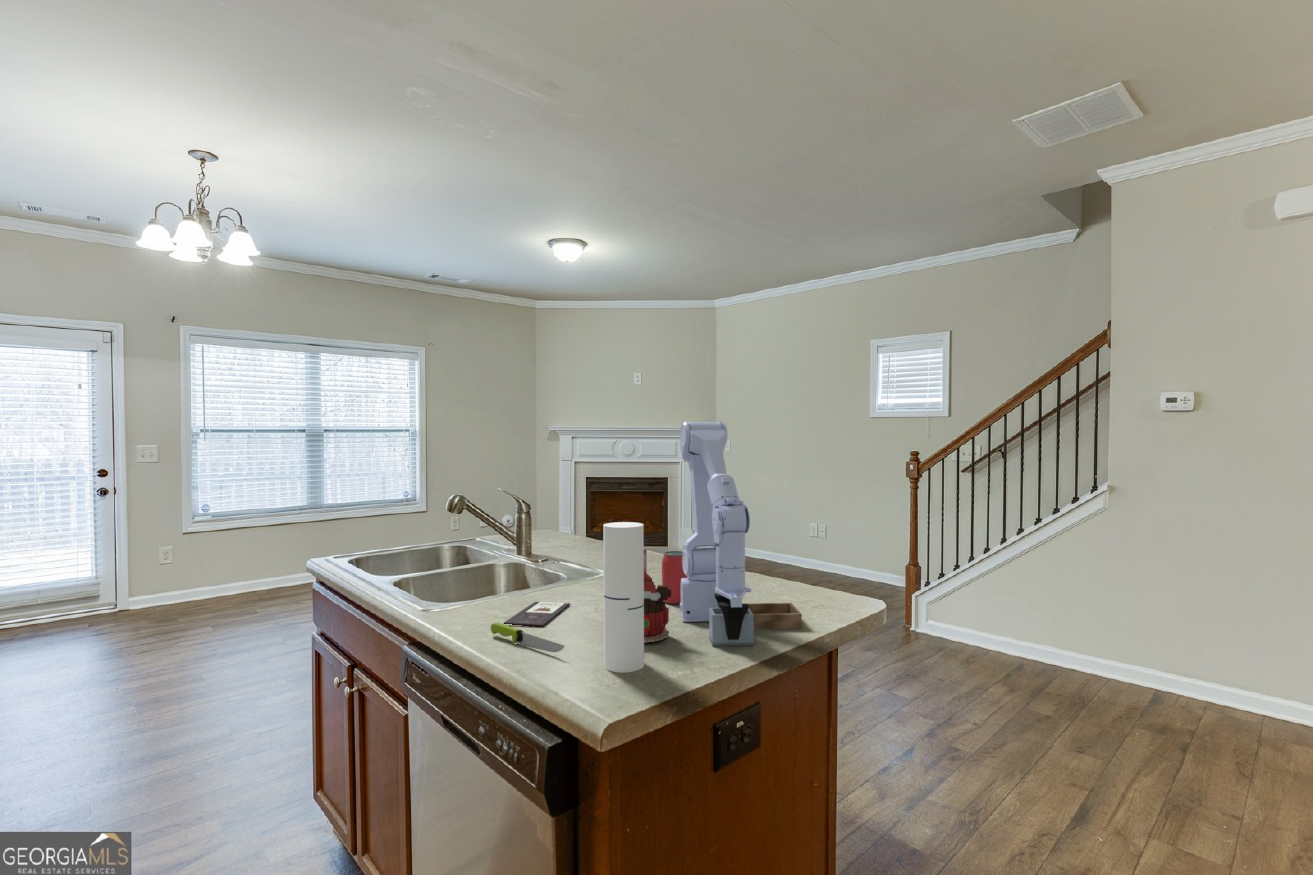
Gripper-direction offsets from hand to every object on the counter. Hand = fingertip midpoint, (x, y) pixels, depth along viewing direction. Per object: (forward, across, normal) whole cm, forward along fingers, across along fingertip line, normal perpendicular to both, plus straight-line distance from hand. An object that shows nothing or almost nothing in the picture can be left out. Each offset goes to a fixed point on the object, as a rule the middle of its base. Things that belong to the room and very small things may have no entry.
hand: (730, 634), depth 125 cm
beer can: (+2, +31, +9) cm, 32 cm away
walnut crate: (+2, +12, -10) cm, 16 cm away
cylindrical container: (+2, -12, +21) cm, 24 cm away
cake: (+2, +3, +17) cm, 17 cm away
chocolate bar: (+2, +21, +41) cm, 46 cm away
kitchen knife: (+2, -1, +40) cm, 40 cm away
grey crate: (+1, 0, 0) cm, 1 cm away
